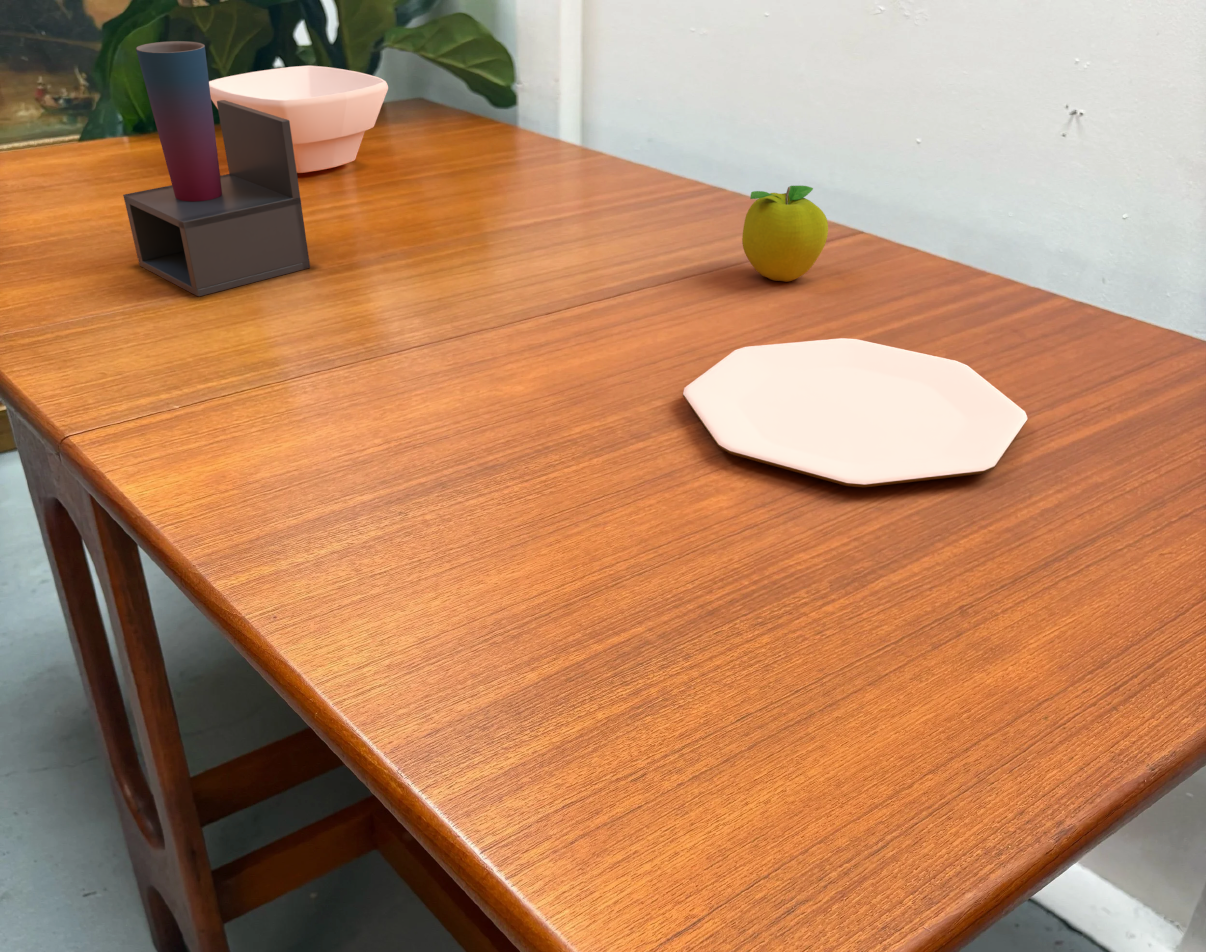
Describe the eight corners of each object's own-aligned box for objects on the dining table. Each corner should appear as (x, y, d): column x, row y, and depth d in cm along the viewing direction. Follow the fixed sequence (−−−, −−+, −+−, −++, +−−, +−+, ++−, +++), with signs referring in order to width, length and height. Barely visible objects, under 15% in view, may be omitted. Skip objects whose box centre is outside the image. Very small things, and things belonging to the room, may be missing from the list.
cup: (221, 204, 123) (194, 52, 115) (158, 203, 123) (126, 52, 115) (237, 187, 129) (212, 41, 120) (177, 186, 129) (148, 40, 120)
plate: (655, 368, 108) (656, 353, 107) (922, 344, 113) (925, 330, 112) (754, 512, 86) (755, 495, 85) (1079, 474, 91) (1084, 457, 90)
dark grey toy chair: (198, 297, 123) (166, 141, 113) (139, 265, 131) (105, 118, 122) (310, 267, 131) (289, 120, 121) (248, 240, 139) (224, 99, 130)
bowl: (321, 141, 180) (311, 61, 173) (415, 166, 168) (407, 81, 162) (199, 168, 166) (183, 82, 160) (291, 196, 154) (278, 105, 148)
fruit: (722, 273, 130) (728, 183, 124) (785, 259, 134) (794, 171, 128) (774, 297, 124) (783, 203, 118) (838, 282, 128) (850, 191, 122)
